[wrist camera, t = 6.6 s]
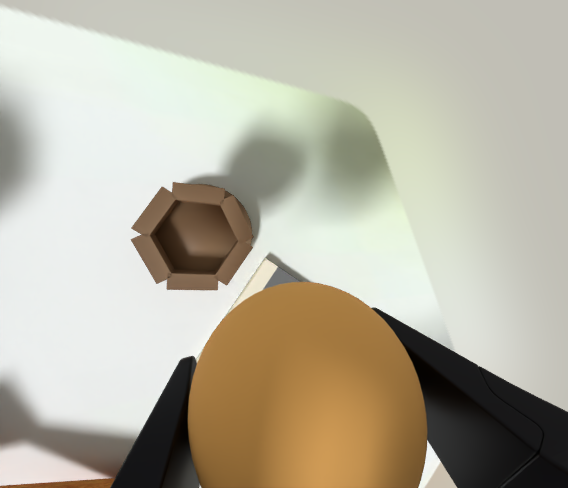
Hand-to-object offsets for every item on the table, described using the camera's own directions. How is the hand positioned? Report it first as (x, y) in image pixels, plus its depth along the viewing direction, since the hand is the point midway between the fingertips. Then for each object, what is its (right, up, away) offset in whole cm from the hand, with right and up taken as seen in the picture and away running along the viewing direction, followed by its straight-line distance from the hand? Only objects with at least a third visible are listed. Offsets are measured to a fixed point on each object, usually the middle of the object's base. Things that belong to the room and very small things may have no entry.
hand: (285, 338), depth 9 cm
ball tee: (-6, +4, +9) cm, 12 cm away
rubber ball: (+1, -1, -2) cm, 2 cm away
